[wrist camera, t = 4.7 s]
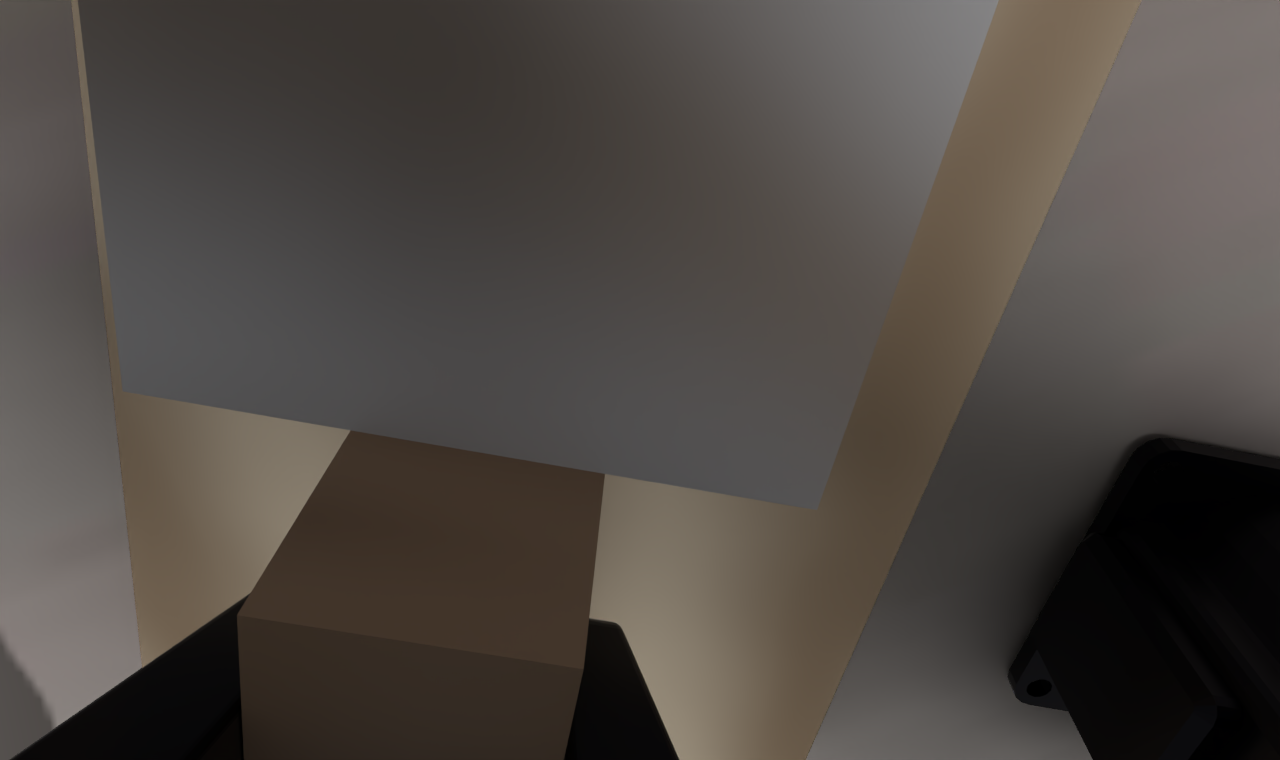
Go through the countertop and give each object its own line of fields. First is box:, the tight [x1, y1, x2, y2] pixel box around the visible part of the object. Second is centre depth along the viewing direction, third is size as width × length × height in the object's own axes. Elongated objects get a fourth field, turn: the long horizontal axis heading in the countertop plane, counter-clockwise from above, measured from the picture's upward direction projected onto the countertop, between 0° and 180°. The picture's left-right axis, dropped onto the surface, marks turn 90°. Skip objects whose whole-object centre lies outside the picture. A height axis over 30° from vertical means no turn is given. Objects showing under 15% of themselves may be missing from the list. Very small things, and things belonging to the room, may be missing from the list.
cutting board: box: [71, 0, 1141, 760], centre depth 12 cm, size 14×28×1 cm, turn 169°
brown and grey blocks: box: [78, 0, 999, 760], centre depth 7 cm, size 12×6×3 cm, turn 169°
